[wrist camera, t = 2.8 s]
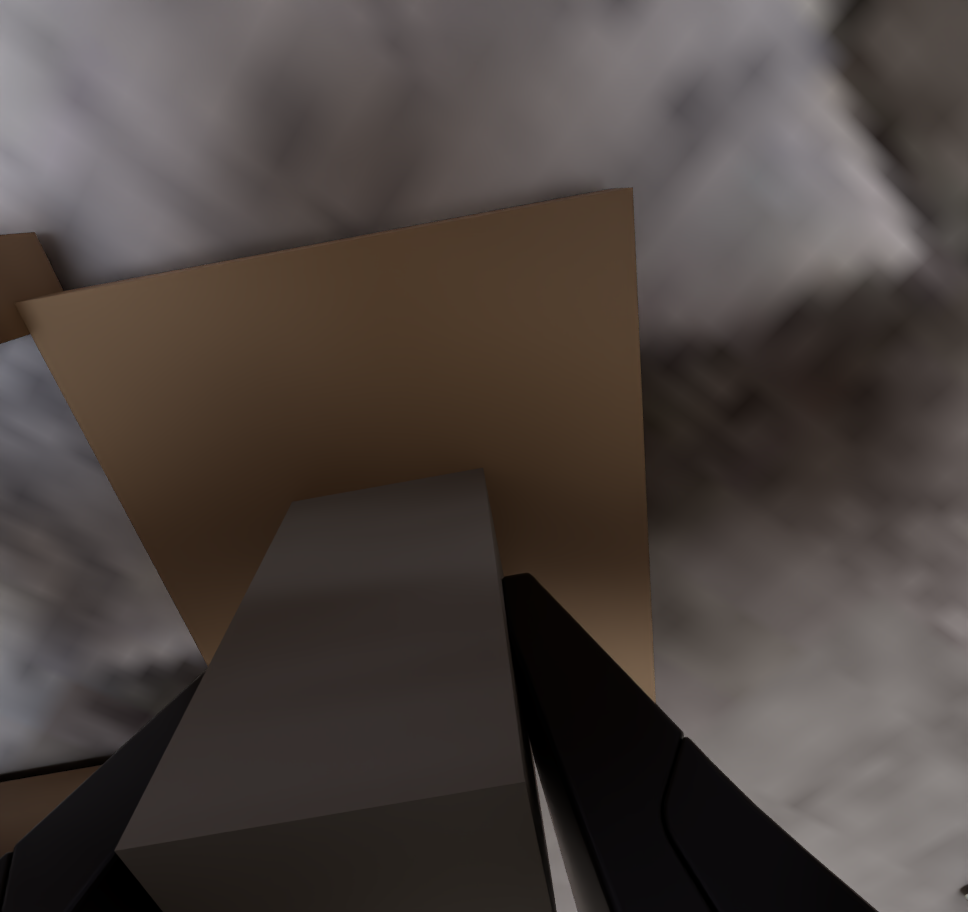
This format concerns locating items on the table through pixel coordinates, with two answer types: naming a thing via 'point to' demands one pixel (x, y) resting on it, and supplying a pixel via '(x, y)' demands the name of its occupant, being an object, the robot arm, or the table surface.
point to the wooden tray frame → (361, 540)
